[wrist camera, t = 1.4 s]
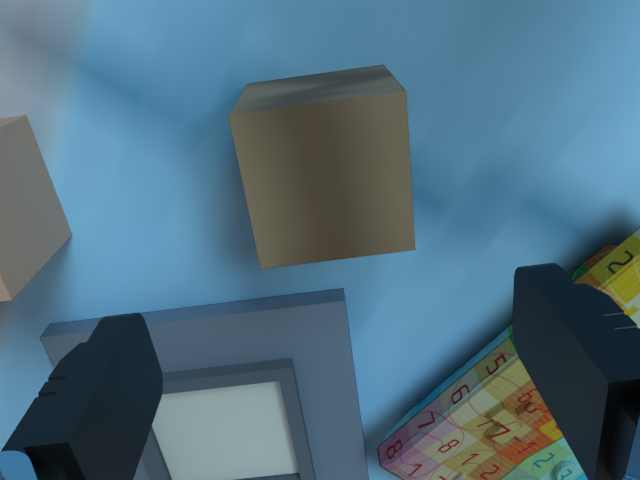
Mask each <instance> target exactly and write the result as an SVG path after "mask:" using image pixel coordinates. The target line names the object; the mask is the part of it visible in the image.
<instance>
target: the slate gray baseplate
mask: <svg viewBox="0 0 640 480" xmlns="http://www.w3.org/2000/svg"><path fill="white" fill-rule="evenodd" d="M140 314H141V315H142V316H143V317H144V319H145V322H146V325H147V328H148V331H149V334H150V337H151V340H152V343H153V346H154V349H155V352H156V355H157V358H158V361H159V364H160V367H161V370H162V376H163V392H162V397H161V400H160V403H159V406H158V409H157V412H156V415H155V418H154V421H153V423H152V426H151V429H150V432H149V435H148V438H147V441H146V444H145V447H144V450H143V452H142V455H141V458H140V461H139V464H138V467H137V470H136V473H135V476H134V478H133V480H369V477H368V469H367V462H366V454H365V447H364V439H363V432H362V424H361V416H360V409H359V401H358V394H357V386H356V379H355V371H354V364H353V356H352V349H351V341H350V334H349V326H348V319H347V311H346V304H345V296H344V289H343V288H342V289H334V290H326V291H318V292H310V293H301V294H293V295H285V296H277V297H269V298H260V299H252V300H244V301H236V302H228V303H220V304H211V305H203V306H195V307H187V308H179V309H170V310H162V311H154V312H146V313H140ZM101 319H102V318H97V319H89V320H80V321H72V322H64V323H56V324H50V325H49V326H48V327H47V329H46V330H45V331H44V333H43V334H42V335H41V337H40V340H41V342H42V344H43V346H44V348H45V351H46V353H47V355H48V357H49V359H50V361H51V364H52V366H53V368H54V369H55V367H56V365H57V364H58V362H59V361H60V360H61V359H62V358H63V357H64V356H65V355H66V354H68V353H69V352H70V351H71V350H72V349H73V348H75V347H76V346H77V345H78V344H79V343H83V342H87V341H88V339H89V338H90V336H91V334H92V333H93V331H94V329H95V328H96V326H97V324H98V323H99V321H100V320H101Z"/></svg>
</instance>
